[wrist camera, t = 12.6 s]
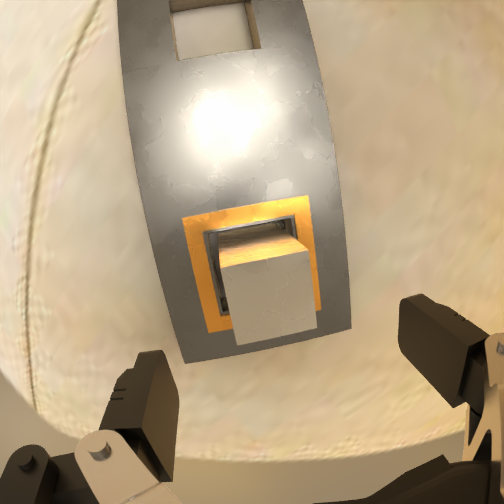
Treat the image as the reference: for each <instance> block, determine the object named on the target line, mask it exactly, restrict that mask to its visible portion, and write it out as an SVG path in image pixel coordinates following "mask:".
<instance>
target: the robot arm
mask: <svg viewBox="0 0 504 504" xmlns="http://www.w3.org/2000/svg"><path fill="white" fill-rule="evenodd" d="M398 343H399V347H400V350H401V352H402V354H403V355H404V356H405V357H406V358H407V359H408V360H409V361H410V362H411V363H412V364H413V365H414V366H415V368H416V369H417V370H418V371H419V372H420V373H421V374H422V375H423V376H424V377H425V378H426V379H427V380H428V381H429V383H430V384H431V385H432V386H433V387H434V388H435V389H436V390H437V391H438V392H439V393H440V395H441V396H442V397H443V398H444V399H445V400H446V401H447V402H448V403H449V404H450V406H451V407H452V408H455V407H457V406H459V405H461V404H462V403H464V402H467V403H468V407H467V410H466V424H465V439H464V451H463V457H462V461H460V462H455V463H449V462H448V461H447V459H446V458H445V457H444V455H441V456H439V457H437V458H435V459H433V460H431V461H429V462H427V463H425V464H422V465H420V466H418V467H416V468H414V469H412V470H410V471H407V472H405V473H404V474H403V475H401V476H400V477H398V478H397V479H395V480H394V481H393V482H391V483H390V484H388V485H387V486H385V487H384V488H382V489H381V490H379V491H377V492H376V493H374V494H373V495H371V496H369V497H367V498H363V499H358V500H348V501H339V502H327V503H314V504H504V333H496V334H493V335H491V336H490V335H489V334H487V333H486V332H484V331H483V330H482V329H480V328H479V327H477V326H476V325H474V324H473V323H472V322H470V321H469V320H466V319H465V318H464V317H463V316H461V315H458V313H457V312H455V311H454V310H453V309H451V308H450V307H447V306H444V305H441V304H438V303H435V302H434V301H433V300H431V299H430V298H428V297H427V296H425V295H424V294H417V295H414V296H410V297H407V298H404V299H402V300H401V302H400V307H399V329H398ZM113 390H114V392H112V395H111V397H110V401H109V403H108V405H107V408H106V411H105V413H104V416H103V419H102V422H101V425H100V427H99V430H98V431H95V432H92V433H90V434H88V435H86V436H85V437H83V438H82V439H81V440H80V441H79V443H78V444H77V446H76V448H75V452H74V453H70V454H65V455H60V456H55V457H50V456H49V454H48V453H47V452H46V451H45V449H44V448H43V447H41V446H39V445H27V446H23V447H21V448H19V449H18V450H16V451H15V452H14V453H13V454H12V455H11V457H10V458H9V460H8V462H7V464H6V467H5V469H4V471H3V474H2V476H1V478H0V504H182V502H181V501H179V499H178V498H177V497H175V496H174V494H173V493H172V492H171V491H170V490H169V489H168V488H167V487H166V486H165V485H164V484H163V483H162V482H173V470H174V457H175V445H176V434H177V423H178V413H179V395H178V391H177V387H176V384H175V382H174V379H173V376H172V373H171V370H170V368H169V365H168V362H167V359H166V356H165V354H164V352H163V351H162V350H155V351H148V352H140V353H139V354H138V357H137V360H136V362H135V365H134V368H132V369H126V371H125V372H124V373H123V374H122V375H121V376H120V377H119V378H118V379H117V382H116V384H115V387H114V389H113Z"/></svg>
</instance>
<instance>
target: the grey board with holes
mask: <svg viewBox="0 0 504 504" xmlns="http://www.w3.org/2000/svg"><path fill="white" fill-rule="evenodd" d="M241 2H244V3H245V8H246V13H247V17H248V22H249V27H250V32H251V37H252V42H253V47H254V49H253V50H243V51H235V52H227V53H220V54H214V55H207V56H201V57H196V58H190V59H185V60H180V61H179V60H178V53H177V46H176V39H175V31H174V24H173V16H172V12H177V11H183V10H188V9H194V8H200V7H207V6H214V5H222V4H231V3H241ZM117 9H118V28H119V42H120V54H121V65H122V75H123V84H124V93H125V101H126V109H127V116H128V123H129V130H130V136H131V143H132V149H133V155H134V161H135V167H136V172H137V178H138V183H139V188H140V193H141V198H142V203H143V208H144V213H145V217H146V222H147V227H148V231H149V235H150V240H151V244H152V248H153V252H154V257H155V261H156V265H157V269H158V273H159V277H160V280H161V284H162V288H163V292H164V295H165V299H166V303H167V306H168V310H169V313H170V317H171V320H172V324H173V327H174V330H175V334H176V337H177V340H178V344H179V347H180V350H181V353H182V356H183V359H184V363H185V364H187V363H194V362H200V361H206V360H212V359H218V358H223V357H229V356H234V355H240V354H245V353H250V352H255V351H260V350H265V349H269V348H274V347H279V346H283V345H288V344H292V343H296V342H301V341H305V340H309V339H313V338H317V337H321V336H325V335H329V334H333V333H337V332H341V331H344V330H348V329H351V306H350V288H349V273H348V260H347V248H346V237H345V227H344V218H343V209H342V200H341V192H340V185H339V177H338V170H337V163H336V156H335V150H334V144H333V137H332V131H331V126H330V120H329V114H328V109H327V104H326V98H325V93H324V88H323V83H322V79H321V74H320V69H319V65H318V60H317V56H316V52H315V47H314V43H313V39H312V35H311V31H310V27H309V23H308V19H307V16H306V12H305V8H304V4H303V1H302V0H117ZM281 219H284V225H285V231H286V232H287V233H289V234H290V235H291V236H292V237H293V238H295V239H296V240H297V241H298V242H299V243H301V244H302V245H303V246H304V247H305V248H307V249H308V250H309V258H310V266H311V275H312V283H313V292H314V301H315V311H316V321H317V328H315V329H311V330H306V331H302V332H298V333H294V334H289V335H285V336H280V337H276V338H271V339H267V340H262V341H257V342H252V343H247V344H242V345H237V343H236V339H235V334H234V330H233V325H232V321H231V316H230V312H229V307H228V303H227V298H226V297H223V298H222V297H221V292H220V288H219V283H218V278H217V273H216V269H215V264H214V259H213V254H212V249H211V244H210V239H209V234H208V233H212V232H217V231H222V230H227V229H233V228H238V227H243V226H249V225H254V224H259V223H265V222H270V221H276V220H281Z"/></svg>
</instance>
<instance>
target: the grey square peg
mask: <svg viewBox="0 0 504 504" xmlns="http://www.w3.org/2000/svg"><path fill="white" fill-rule="evenodd" d="M218 246H219V260H220V270H221V275H222V279H223V284H224V289H225V293H226V298H227V303H228V307H229V312H230V316H231V321H232V325H233V330H234V334H235V339H236V343H237V345H242V344H247V343H252V342H257V341H262V340H267V339H271V338H276V337H280V336H285V335H289V334H294V333H298V332H302V331H306V330H311V329H315V328H317V321H316V311H315V301H314V292H313V283H312V275H311V266H310V258H309V250H308V249H307V248H305V247H304V246H303V245H302V244H301V243H299V242H298V241H297V240H296V239H295V238H293V237H292V236H291V235H290V234H289V233H287V232H286V231H285V230H284V229H283V228H281V227H280V226H279V225H278V224H277V223H271V224H266V225H260V226H255V227H250V228H245V229H239V230H234V231H229V232H224V233H219V234H218Z"/></svg>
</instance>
